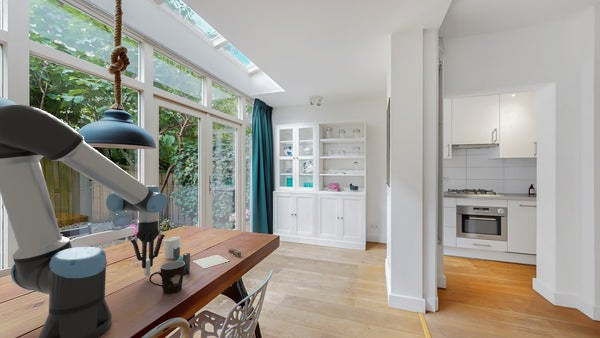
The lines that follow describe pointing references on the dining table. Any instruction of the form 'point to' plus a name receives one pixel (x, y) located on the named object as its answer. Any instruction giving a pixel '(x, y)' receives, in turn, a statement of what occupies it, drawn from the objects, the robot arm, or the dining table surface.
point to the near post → (186, 263)
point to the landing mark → (210, 261)
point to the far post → (176, 253)
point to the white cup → (171, 246)
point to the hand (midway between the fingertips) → (147, 274)
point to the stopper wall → (234, 252)
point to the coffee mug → (171, 276)
